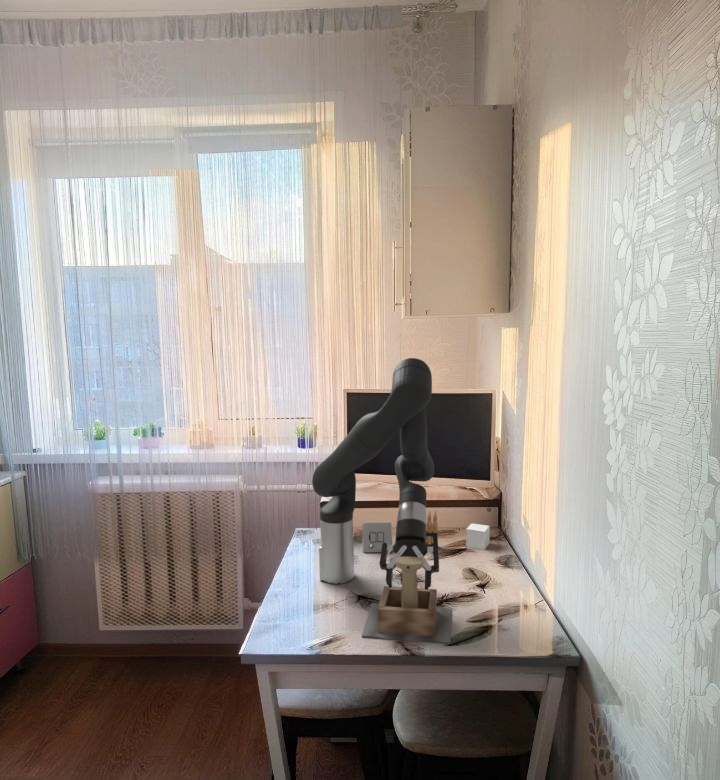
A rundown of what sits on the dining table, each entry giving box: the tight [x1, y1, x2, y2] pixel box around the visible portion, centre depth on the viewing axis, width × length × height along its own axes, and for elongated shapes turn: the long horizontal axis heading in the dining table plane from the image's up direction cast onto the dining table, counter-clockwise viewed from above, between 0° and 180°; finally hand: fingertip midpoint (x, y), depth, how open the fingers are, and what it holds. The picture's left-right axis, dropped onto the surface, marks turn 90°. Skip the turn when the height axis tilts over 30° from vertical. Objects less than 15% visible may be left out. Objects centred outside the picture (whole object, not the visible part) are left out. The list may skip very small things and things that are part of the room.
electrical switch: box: [361, 521, 393, 553], centre depth 186 cm, size 9×5×9 cm, turn 90°
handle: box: [396, 556, 423, 608], centre depth 139 cm, size 5×6×15 cm
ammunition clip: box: [426, 510, 439, 547], centre depth 187 cm, size 11×2×12 cm, turn 85°
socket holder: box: [361, 585, 452, 645], centre depth 139 cm, size 20×16×6 cm
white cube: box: [465, 523, 491, 551], centre depth 188 cm, size 6×6×6 cm
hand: (408, 587), depth 137 cm, fingers open, 8 cm apart
